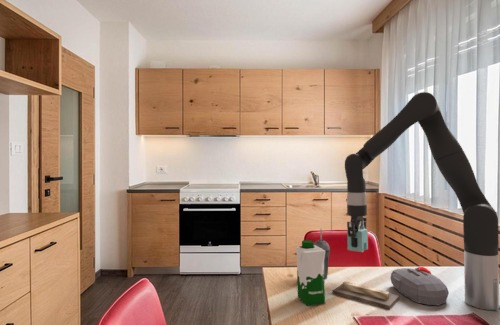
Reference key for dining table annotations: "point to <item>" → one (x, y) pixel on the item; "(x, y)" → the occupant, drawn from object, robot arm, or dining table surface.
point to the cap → (424, 270)
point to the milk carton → (310, 273)
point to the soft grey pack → (419, 286)
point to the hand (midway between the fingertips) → (357, 245)
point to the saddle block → (359, 241)
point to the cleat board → (366, 295)
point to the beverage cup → (325, 247)
